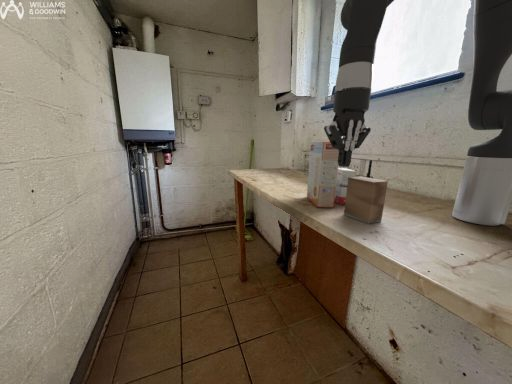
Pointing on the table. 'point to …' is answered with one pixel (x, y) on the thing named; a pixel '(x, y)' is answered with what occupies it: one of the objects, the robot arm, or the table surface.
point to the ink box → (342, 184)
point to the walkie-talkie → (369, 170)
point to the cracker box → (322, 174)
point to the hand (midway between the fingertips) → (343, 166)
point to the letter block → (365, 199)
